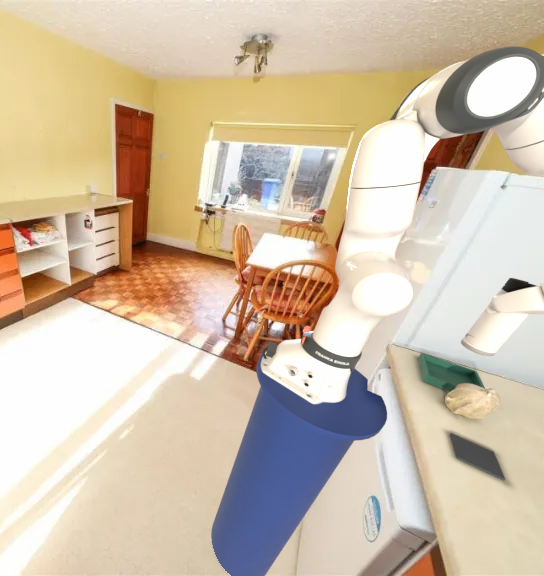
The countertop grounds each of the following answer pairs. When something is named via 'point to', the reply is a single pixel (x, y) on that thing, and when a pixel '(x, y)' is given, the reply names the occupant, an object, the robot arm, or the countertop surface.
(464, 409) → the garlic bulb
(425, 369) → the tray
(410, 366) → the countertop surface
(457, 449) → the mat
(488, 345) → the travel mug
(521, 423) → the countertop surface
